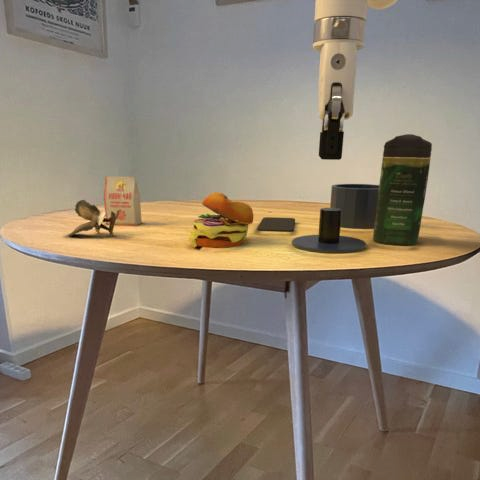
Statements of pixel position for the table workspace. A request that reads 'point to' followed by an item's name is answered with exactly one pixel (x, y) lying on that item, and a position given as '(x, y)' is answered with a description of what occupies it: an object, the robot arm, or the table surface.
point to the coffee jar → (402, 190)
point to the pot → (356, 204)
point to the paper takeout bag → (122, 200)
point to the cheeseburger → (221, 223)
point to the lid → (329, 236)
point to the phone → (276, 224)
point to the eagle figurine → (93, 218)
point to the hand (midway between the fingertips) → (329, 158)
